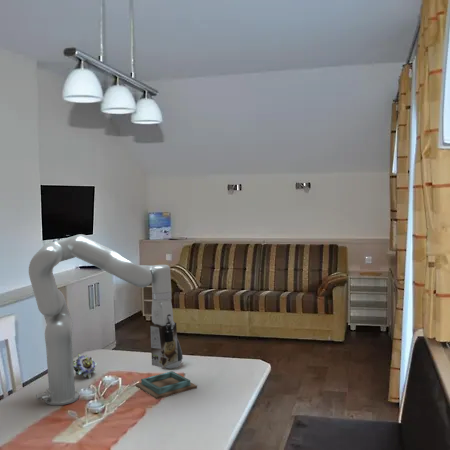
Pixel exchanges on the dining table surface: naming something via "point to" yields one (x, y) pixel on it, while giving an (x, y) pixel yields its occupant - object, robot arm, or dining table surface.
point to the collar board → (165, 385)
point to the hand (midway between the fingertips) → (164, 339)
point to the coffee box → (163, 347)
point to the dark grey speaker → (178, 358)
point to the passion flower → (84, 366)
